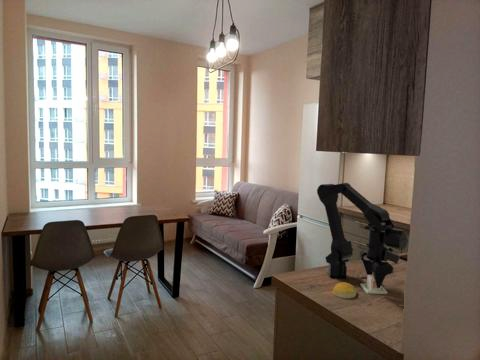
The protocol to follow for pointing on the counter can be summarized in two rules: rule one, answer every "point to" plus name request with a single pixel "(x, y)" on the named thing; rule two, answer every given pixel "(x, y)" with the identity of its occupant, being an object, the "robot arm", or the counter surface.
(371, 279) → the letter block
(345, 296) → the bread roll
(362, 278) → the walnut tray
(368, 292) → the green tray
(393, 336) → the counter surface
